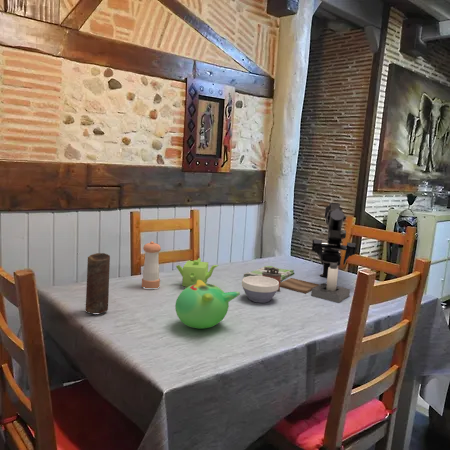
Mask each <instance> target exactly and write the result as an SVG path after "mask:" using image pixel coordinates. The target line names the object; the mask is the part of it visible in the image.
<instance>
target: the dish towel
mask: <svg viewBox="0 0 450 450" xmlns="http://www.w3.org/2000/svg"><path fill="white" fill-rule="evenodd" d="M264 267H270V268H272V267H274V268H277V267H275V266H272V265H264V266H263V267H260V268H258V269H255V270H252V271H250V272H248V271H247V272H244V273H243V278H245V277H248V276H262V272H267V270H264ZM294 271H295V270H294V269H285V268H279V272H278V273H281V279H280V282H283V281H285V280H287V279H289V278H291V277H292V276H294V275H295V272H294ZM269 272H270V271H269ZM275 272H276V271H275Z"/></svg>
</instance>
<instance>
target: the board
mask: <svg viewBox="0 0 450 450" xmlns="http://www.w3.org/2000/svg"><path fill="white" fill-rule="evenodd" d="M318 285H320V283H315V282H310V281H306V280H302V279H298V278H294V277H289V278H286V279H284V280H282V281H280V288H281V289H285V290H286V289H287V290H290V291H293V292H297V293H302V294H308V293H309V292H312V288H314V287H316V286H318Z"/></svg>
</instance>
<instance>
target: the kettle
mask: <svg viewBox="0 0 450 450" xmlns="http://www.w3.org/2000/svg"><path fill="white" fill-rule="evenodd" d="M175 267H176V269H177V270H178V272H179V274H180V275H181V277H182V281H181V282H182V283H181V284H182V287H184V288H185V287H186V288H187V287H189V286H191V285H194V284H196V283H197V280H202V281H203V282H204V283H207V282H208V279H210V278H211V276H212V274H213V272H214V269H215V268H217V267H219V265H217V264H214V265H211V266H210V269H209V262H207V261H202V258H201V257H198V258H197V259H195V260H187V261H186V262H185V264H184V265H183V266H181V265H180V264H177V265H176V266H175ZM207 284H208V283H207ZM186 288H185V289H186Z"/></svg>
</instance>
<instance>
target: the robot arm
mask: <svg viewBox="0 0 450 450" xmlns="http://www.w3.org/2000/svg"><path fill="white" fill-rule="evenodd" d="M340 205H341V203H338V202H329V205H328V206H326V207H325V208H324V209H325V210H324V216H323V217H324V219H325V223H326V224H327V227H328V228H327V239H326V240H327V241H326V242H322V241H323V240H322V239H317V238H314V239H312V243H311V244H312V245H311V251H312V252H314V253H315V254H317V255H318V259H319V260H320V264H321V265H323V266H322V267H323V268H322V274H320V275H319V276H320V277H324V278H327V277H328V267H330V263H337V267H338V266H340V265H341V260H342V256H341V253H340V250H341V251H345V254H344V258H343V264H342V265H343V266H345V264H346V262H347V261H348V259H349V257H352V256H354V255H356V252H357V247H358V245H357V244H356V242H346V245H343V244H342V239H346V238H347V236H346V235H347V230H346V229H345V230H343V229H342V226H343V222H345V221H346V219H347V218H346V217H347V216H346V215H345V213H344V212H343V211H344V210H343V208H342V207H341V206H340Z"/></svg>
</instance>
